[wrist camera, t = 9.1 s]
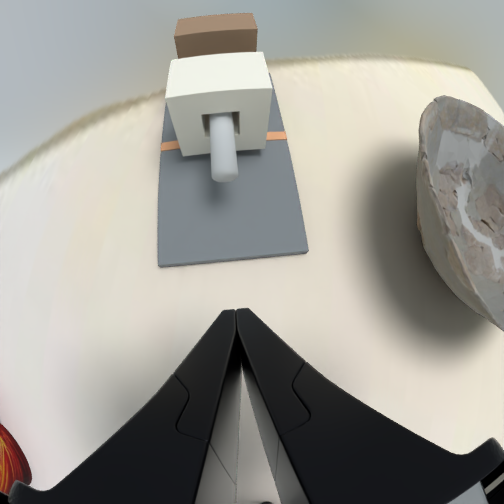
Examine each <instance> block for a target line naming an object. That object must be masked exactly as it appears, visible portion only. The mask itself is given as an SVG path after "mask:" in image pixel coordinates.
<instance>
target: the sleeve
mask: <svg viewBox="0 0 504 504" xmlns="http://www.w3.org/2000/svg"><path fill="white" fill-rule="evenodd" d="M272 89H273V88H272V84H271V80H270V77H269V73H268V69H267V66H266V62H265V58H264V55H263V52H240V53H224V54H213V55H203V56H195V57H188V58H181V59H175V60H171V64H170V70H169V76H168V82H167V89H166V96H165V99H166V103H167V106H168V110H169V113H170V116H171V120H172V123H173V126H174V130H175V133H176V136H177V139H178V143H179V146H180V149H181V152H182V155H183V156H191V155H199V154H207V153H211V151H210V122H209V114H212V113H223V112H232V116H233V126H234V136H235V146H236V151H239V150H253V149H265V146H266V138H267V130H268V122H269V113H270V105H271V97H272Z"/></svg>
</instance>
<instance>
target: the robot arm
mask: <svg viewBox="0 0 504 504" xmlns="http://www.w3.org/2000/svg"><path fill="white" fill-rule="evenodd" d="M241 363H242V364H241ZM242 370H243V374H244V378H245V382H246V386H247V389H248V393H249V397H250V400H251V404H252V408H253V411H254V415H255V418H256V422H257V425H258V429H259V432H260V435H261V439H262V442H263V446H264V449H265V452H266V455H267V459H268V462H269V465H270V468H271V472H272V475H273V478H274V481H275V484H276V487H277V491H278V494H279V497H280V501H281V504H504V450H503V448H502V447H501V445H500V444H499V443H498V442H497V440H496V439H495V438H490V439H488V440H487V441H485V442H484V443H483V444H481V445H480V446H479V447H477V448H476V449H475V450H473V451H472V452H470V453H468V454H463V455H460V454H454V453H451V452H449V451H447V450H445V449H443V448H441V447H440V446H438V445H436V444H434V443H432V442H430V441H428V440H426V439H424V438H423V437H421V436H419V435H417V434H415V433H414V432H412V431H410V430H408V429H406V428H405V427H403V426H401V425H399V424H398V423H396V422H394V421H393V420H391V419H389V418H388V417H386V416H384V415H382V414H381V413H379V412H377V411H376V410H374V409H373V408H371V407H369V406H368V405H366V404H364V403H363V402H361V401H360V400H358V399H356V398H355V397H353V396H352V395H350V394H349V393H347V392H345V391H344V390H342V389H341V388H339V387H338V386H337V385H335V384H334V383H332V382H331V381H329V380H328V379H327V378H325V377H324V376H323V375H322V374H321V373H319V372H318V371H317V370H316V369H315V368H313V367H312V366H311V365H310V364H309V363H308V362H306V361H305V360H304V359H303V358H302V357H301V356H299V355H298V354H297V353H296V352H295V351H294V350H293V349H292V348H291V347H290V346H288V345H287V344H286V343H285V342H284V341H283V340H282V339H281V338H280V337H279V336H278V335H277V334H275V333H274V332H273V331H272V330H271V329H270V328H269V327H268V326H267V325H266V324H265V323H264V322H263V321H262V320H261V319H260V318H258V317H257V316H256V315H255V314H254V313H253V312H252V311H251V310H250V309H249V308H241V309H237V310H236V311H235V310H234V309H231V310H223V311H222V312H221V313H220V315H219V316H218V317H217V318H216V320H215V321H214V322H213V324H212V325H211V326H210V327H209V329H208V330H207V331H206V333H205V334H204V335H203V336H202V338H201V339H200V340H199V341H198V343H197V344H196V345H195V346H194V348H193V349H192V350H191V352H190V353H189V354H188V355H187V357H186V358H185V359H184V360H183V362H182V363H181V364H180V365H179V367H178V368H177V369H176V370H175V372H174V373H173V374H172V375H171V376H170V377H169V379H168V380H167V381H166V382H165V384H164V385H163V386H162V387H161V388H160V389H159V391H158V392H157V393H156V394H155V395H154V396H153V397H152V398H151V399H150V400H149V401H148V402H147V403H146V404H145V405H144V406H143V407H142V408H141V409H140V410H139V411H138V412H137V413H136V414H135V415H134V416H133V417H132V418H131V419H130V420H129V421H127V422H126V423H125V424H124V425H123V426H122V427H121V428H120V429H119V430H118V431H117V432H116V433H115V434H113V435H112V436H111V437H110V438H109V439H108V440H107V441H106V442H105V443H104V444H102V445H101V446H100V447H99V448H98V449H97V450H96V451H95V452H94V453H92V454H91V455H90V456H89V457H88V458H87V459H86V460H85V461H83V462H82V463H81V464H80V465H79V466H78V467H77V468H75V469H74V470H73V471H72V472H71V473H70V474H69V475H67V476H66V477H65V478H64V479H63V480H62V481H60V482H59V483H58V484H57V485H56V486H54V487H53V488H51V489H50V490H46V491H39V490H36V489H34V488H32V487H30V486H28V485H26V484H24V483H22V482H20V481H18V480H16V481H14V483H13V485H12V488H11V490H10V493H9V495H8V494H6V493H4V492H2V491H0V504H236V480H237V459H238V439H239V419H240V400H241V381H242ZM262 504H272V503H270V502H264V503H262Z"/></svg>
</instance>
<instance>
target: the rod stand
mask: <svg viewBox="0 0 504 504" xmlns="http://www.w3.org/2000/svg"><path fill="white" fill-rule="evenodd" d="M174 39H175V44H176V49H177V55H178V59H181V58H188V57H195V56H203V55H213V54H224V53H240V52H256V47H257V26H256V23H255V20H254V17H253V14H252V13H237V14H221V15H208V16H199V17H192V18H185V19H179V20H178V22H177V26H176V30H175V35H174ZM269 77H270V80H271V84H272V88H273V89H272V97H271V105H270V113H269V122H268V130H267V138H266V146H265V149H253V150H239V151H236V146H235V136H234V126H233V116H232V112H223V113H212V114H209V122H210V151H211V153H207V154H199V155H191V156H183V155H182V152H181V149H180V146H179V143H178V139H177V136H176V133H175V130H174V126H173V123H172V120H171V116H170V113H169V110H168V106H167V103H166V107H165V115H164V124H163V134H162V143H161V157H160V173H159V193H158V266H160V267H171V266H181V265H192V264H203V263H213V262H224V261H234V260H244V259H255V258H265V257H275V256H285V255H295V254H305V253H307V252H308V251H309V250H308V244H307V238H306V232H305V226H304V221H303V215H302V210H301V205H300V200H299V195H298V190H297V185H296V180H295V175H294V170H293V165H292V161H291V156H290V152H289V147H288V143H287V137H286V133H285V130H284V126H283V122H282V118H281V114H280V110H279V106H278V102H277V98H276V94H275V90H274V86H273V83H272V79H271V75H270V73H269Z"/></svg>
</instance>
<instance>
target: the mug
mask: <svg viewBox="0 0 504 504" xmlns="http://www.w3.org/2000/svg"><path fill="white" fill-rule="evenodd" d="M16 480H18V481H20V482H22V483H24V484H26V485H30V483H31V481H32V474H31V470H30V467H29V464H28V461H27V459H26V457H25V455H24V453H23V452H22V450H21V448H20V446H19V445H18V443H17V442H16V440H15V439H14V438H13V436H12V435H11V434H10V433H9V431H8V430H7V429H6V428H5V427H4V426H3V425H2V424H0V491H2V492H4V493H6V494H8V495H9V493H10V490H11V488H12V485H13V483H14V481H16Z"/></svg>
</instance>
